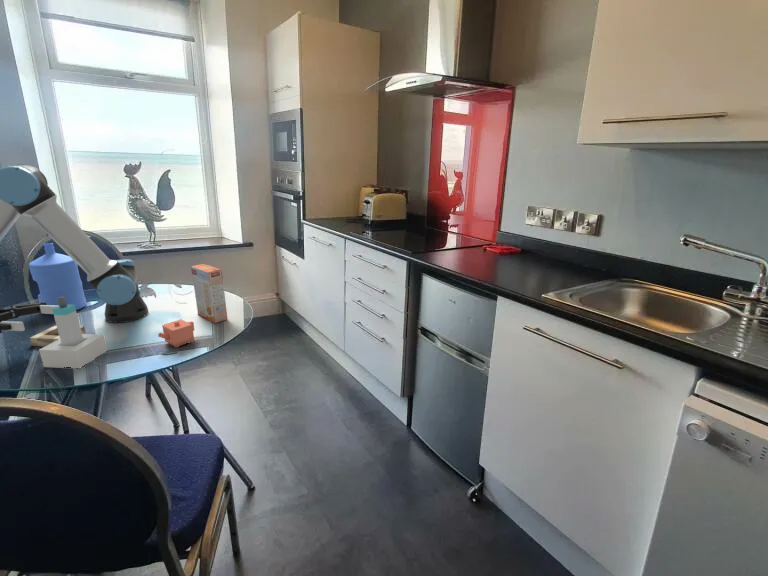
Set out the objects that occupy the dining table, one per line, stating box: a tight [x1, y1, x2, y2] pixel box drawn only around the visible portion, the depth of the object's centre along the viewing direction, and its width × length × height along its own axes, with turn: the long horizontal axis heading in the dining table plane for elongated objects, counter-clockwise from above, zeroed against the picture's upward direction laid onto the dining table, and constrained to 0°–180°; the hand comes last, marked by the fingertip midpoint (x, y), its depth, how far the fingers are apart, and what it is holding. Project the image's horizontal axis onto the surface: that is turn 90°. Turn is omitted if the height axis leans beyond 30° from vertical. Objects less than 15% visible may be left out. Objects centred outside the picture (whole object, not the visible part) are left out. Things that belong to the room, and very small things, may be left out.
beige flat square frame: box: [29, 324, 87, 347], centre depth 149 cm, size 11×11×3 cm
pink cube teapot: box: [157, 318, 196, 348], centre depth 145 cm, size 8×12×8 cm, turn 141°
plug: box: [52, 297, 84, 346], centre depth 132 cm, size 4×4×18 cm
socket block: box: [38, 333, 108, 369], centre depth 135 cm, size 12×12×6 cm
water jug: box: [28, 242, 87, 311], centre depth 174 cm, size 16×16×28 cm
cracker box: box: [190, 263, 228, 324], centre depth 166 cm, size 14×6×21 cm, turn 48°
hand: (42, 317), depth 132 cm, fingers open, 13 cm apart
